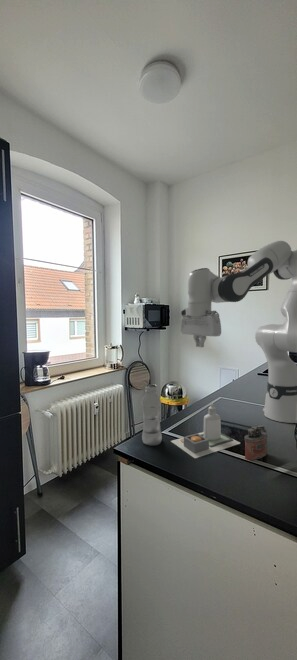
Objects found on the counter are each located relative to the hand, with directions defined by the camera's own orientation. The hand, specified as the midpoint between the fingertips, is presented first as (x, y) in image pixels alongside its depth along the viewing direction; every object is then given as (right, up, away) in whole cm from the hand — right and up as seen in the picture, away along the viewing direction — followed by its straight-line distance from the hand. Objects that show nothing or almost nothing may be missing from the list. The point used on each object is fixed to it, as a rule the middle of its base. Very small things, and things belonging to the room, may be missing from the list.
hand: (199, 347), depth 105 cm
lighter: (+12, -32, -24) cm, 42 cm away
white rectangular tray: (-1, -32, -15) cm, 35 cm away
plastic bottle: (-19, -32, -13) cm, 40 cm away
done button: (-5, -30, -18) cm, 35 cm away
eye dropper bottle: (+2, -31, -12) cm, 33 cm away
